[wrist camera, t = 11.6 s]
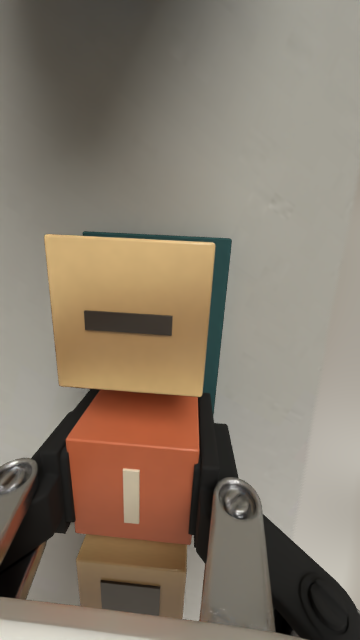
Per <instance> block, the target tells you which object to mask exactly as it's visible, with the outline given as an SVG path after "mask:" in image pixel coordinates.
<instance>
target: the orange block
mask: <svg viewBox="0 0 360 640" xmlns="http://www.w3.org/2000/svg"><path fill="white" fill-rule="evenodd" d="M66 449H67V452H69V461H70V471H71V480H72V490H73V499H74V509H75V518H76V521H75V522H74V523H75V532H76V533H81V534H90V535H100V536H109V537H119V538H128V539H138V540H147V541H157V542H166V543H176V544H185V545H190V544H191V538H192V535H190V534H188V531H189V519H190V508H191V497H192V485H193V474H194V464H198V462H199V452H200V448H199V419H198V397H192V396H179V395H166V394H153V393H140V392H127V391H114V390H101V389H100V391H99V392H98V394H97V395H96V396H95V398H94V399H93V401H92V402H91V404H90V405H89V406H88V408H87V409H86V411H85V412H84V414H83V415H82V416H81V418H80V419H79V421H78V422H77V423H76V425H75V426H74V428H73V429H72V431H71V432H70V433H69V435H68V436H67V438H66Z"/></svg>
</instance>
